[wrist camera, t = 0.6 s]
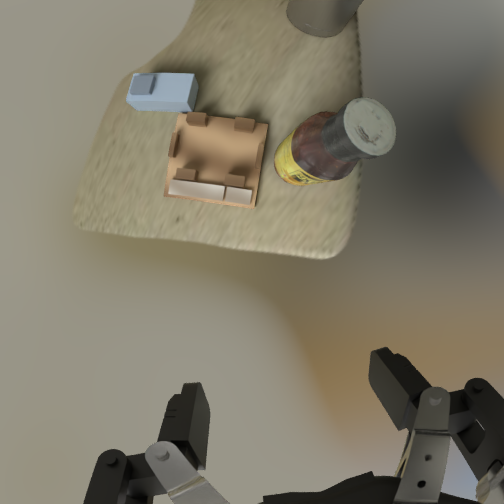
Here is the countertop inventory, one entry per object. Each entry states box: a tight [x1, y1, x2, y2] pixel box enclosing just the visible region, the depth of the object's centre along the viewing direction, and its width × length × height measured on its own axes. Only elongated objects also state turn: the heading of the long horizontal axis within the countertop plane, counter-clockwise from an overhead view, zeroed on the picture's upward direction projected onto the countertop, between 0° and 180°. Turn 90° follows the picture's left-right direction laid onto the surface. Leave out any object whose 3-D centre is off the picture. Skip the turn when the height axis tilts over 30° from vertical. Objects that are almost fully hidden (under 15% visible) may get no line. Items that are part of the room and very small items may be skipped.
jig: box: [164, 112, 268, 209], centre depth 31 cm, size 11×12×4 cm
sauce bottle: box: [274, 97, 396, 186], centre depth 24 cm, size 7×6×20 cm
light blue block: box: [126, 73, 199, 113], centre depth 28 cm, size 4×8×6 cm, turn 81°
